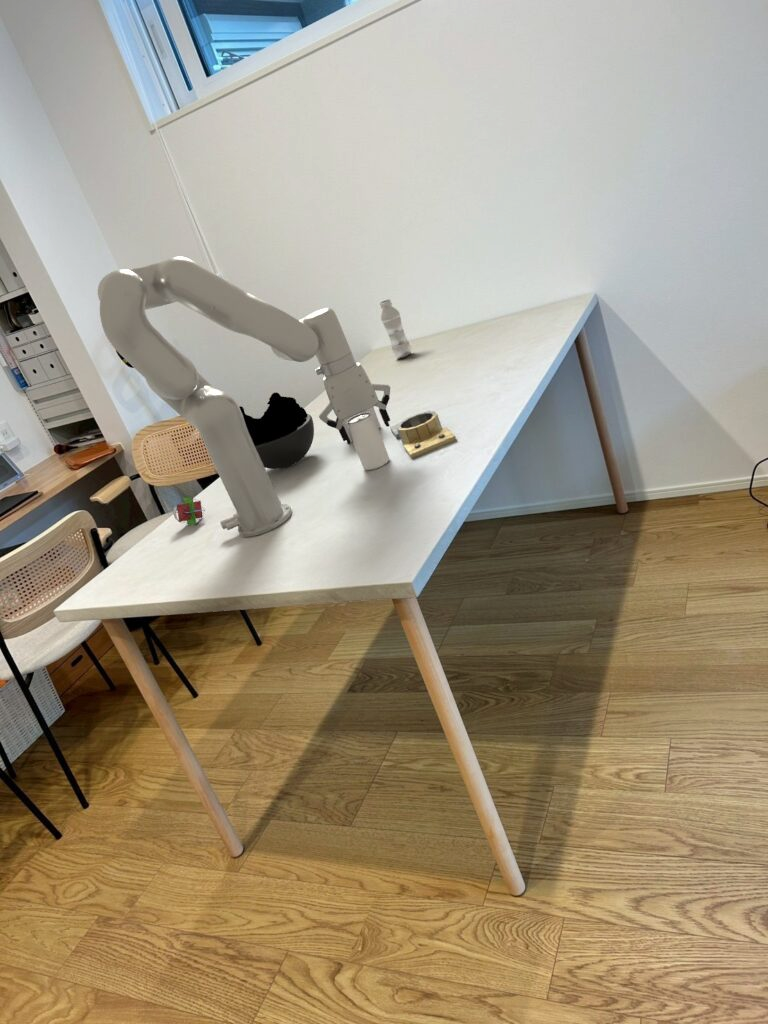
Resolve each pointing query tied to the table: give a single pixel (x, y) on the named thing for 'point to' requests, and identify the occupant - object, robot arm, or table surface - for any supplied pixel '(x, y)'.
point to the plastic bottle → (395, 330)
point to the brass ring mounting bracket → (422, 433)
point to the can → (367, 441)
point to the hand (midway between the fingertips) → (368, 433)
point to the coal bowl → (281, 432)
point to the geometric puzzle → (188, 511)
